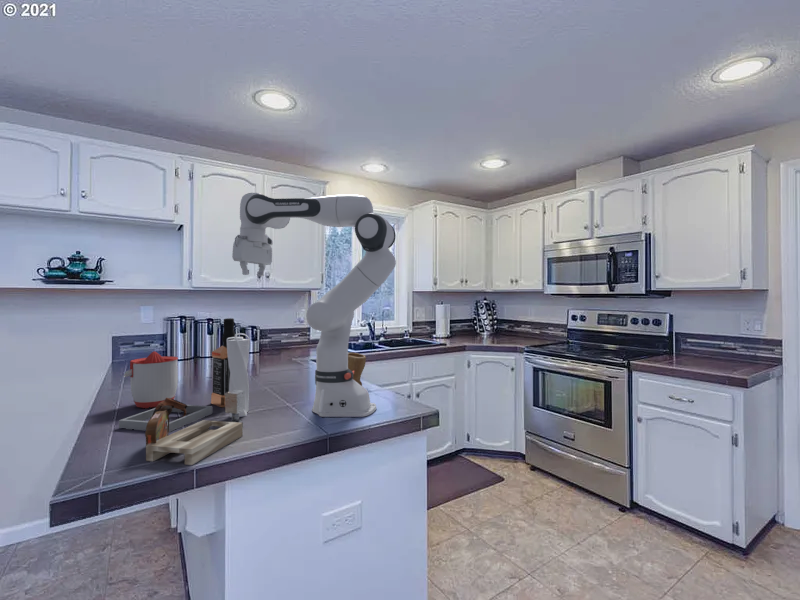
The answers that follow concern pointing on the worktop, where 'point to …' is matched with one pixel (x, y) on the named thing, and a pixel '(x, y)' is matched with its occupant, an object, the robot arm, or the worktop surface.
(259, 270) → the robot arm
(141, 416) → the grey flat square frame
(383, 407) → the worktop surface
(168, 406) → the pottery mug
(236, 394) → the peg
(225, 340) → the whiskey bottle
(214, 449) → the keyhole plate
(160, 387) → the citrus juicer
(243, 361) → the skyscraper
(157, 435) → the tin
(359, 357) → the tan flared vase
